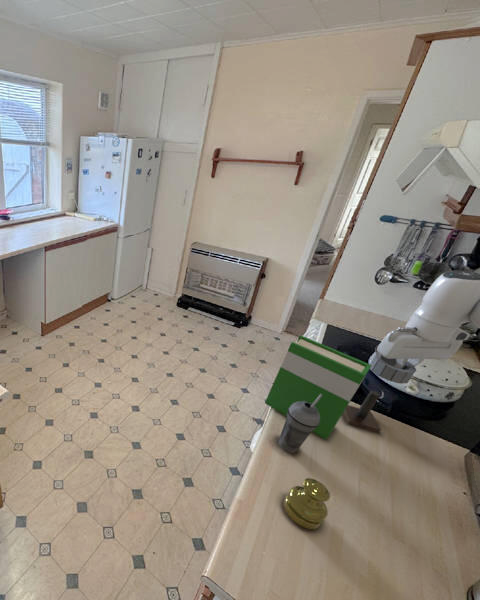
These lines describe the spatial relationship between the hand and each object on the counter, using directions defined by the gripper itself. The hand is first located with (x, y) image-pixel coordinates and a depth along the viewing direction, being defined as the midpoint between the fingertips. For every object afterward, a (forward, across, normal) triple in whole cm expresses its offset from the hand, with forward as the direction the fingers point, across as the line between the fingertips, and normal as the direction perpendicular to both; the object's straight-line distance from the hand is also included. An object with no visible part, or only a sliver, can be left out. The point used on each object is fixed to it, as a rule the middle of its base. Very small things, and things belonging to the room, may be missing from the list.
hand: (403, 368), depth 93 cm
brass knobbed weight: (+21, -43, -27) cm, 55 cm away
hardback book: (+21, -23, +2) cm, 31 cm away
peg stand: (+20, -4, 0) cm, 21 cm away
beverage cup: (+21, -34, -9) cm, 41 cm away
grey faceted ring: (+2, -4, 0) cm, 4 cm away
